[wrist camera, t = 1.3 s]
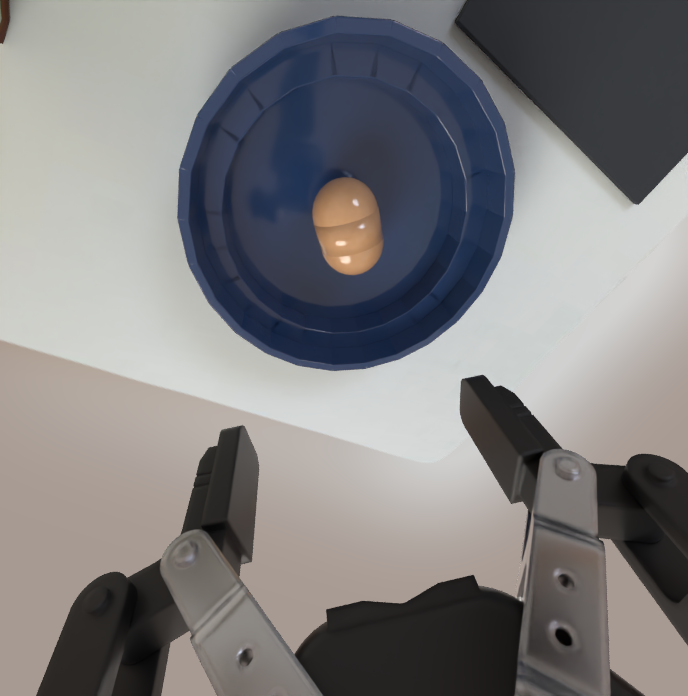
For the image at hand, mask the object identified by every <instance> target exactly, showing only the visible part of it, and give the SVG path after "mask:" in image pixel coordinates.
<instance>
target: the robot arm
mask: <svg viewBox="0 0 688 696" xmlns="http://www.w3.org/2000/svg"><path fill="white" fill-rule="evenodd" d="M460 415H461V419H462V422H463V424H464V426H465V428H466V430H467V431H468V433H469V435H470V436H471V438H472V439H473V441H474V443H475V445H476V446H477V448H478V450H479V451H480V453H481V455H482V456H483V458H484V459H485V461H486V463H487V465H488V466H489V468H490V469H491V471H492V473H493V474H494V476H495V478H496V479H497V481H498V483H499V484H500V486H501V488H502V489H503V491H504V493H505V494H506V496H507V498H508V499H509V501H510V503H511V504H512V503H517V502H522V501H523V502H524V504H525V505H526V507H527V509H528V512H527V518H526V525H525V533H524V540H523V547H522V555H521V562H520V569H519V574H518V580H517V586H516V591H515V597H513V596H511V595H509V594H507V593H505V592H502V591H499V590H496V589H493V588H489V587H484V586H478V584H477V582H476V579H475V577H474V575H471V576H467V577H463V578H459V579H454V580H450V581H446V582H441V583H438V584H436V585H434V586H432V587H431V588H429V589H427V590H426V591H424V592H422V593H421V594H419V595H418V596H416V597H414V598H412V599H411V600H409V601H407V602H405V603H401V604H399V603H385V602H384V603H383V602H371V601H360V602H356V603H352V604H348V605H343V606H339V607H335V608H331V609H327V610H326V613H327V622H325V623H324V624H322V625H321V626H319V627H318V628H317V629H316V630H314V631H313V632H312V633H311V634H310V635H309V636H308V637H307V638H306V639H305V640H304V642H303V643H302V644H301V645H300V647H299V648H298V650H297V651H296V653H295V654H293V652H292V651H291V649H290V648H289V647H288V645H287V644H286V642H285V641H284V640H283V638H282V637H281V635H280V634H279V633H278V631H277V630H276V628H275V627H274V625H273V624H272V623H271V621H270V620H269V619H268V617H267V616H266V614H265V613H264V611H263V610H262V609H261V607H260V606H259V604H258V603H257V601H256V600H255V599H254V597H253V596H252V594H251V593H250V592H249V590H248V589H247V587H246V586H245V585H244V584H243V582H242V581H241V579H240V578H239V576H240V566H241V564H245V563H249V562H252V553H253V540H254V528H255V515H256V502H257V489H258V476H259V464H258V463H259V462H258V457H257V454H256V451H255V449H254V446H253V444H252V442H251V440H250V437H249V435H248V433H247V431H246V429H245V427H244V426H237V427H232V428H228V429H223V430H221V432H220V437H219V441H218V446H214V447H210V448H208V450H207V451H206V453H205V454H204V456H203V457H202V459H201V460H200V462H199V466H198V470H197V474H196V475H197V477H196V478H195V482H194V488H193V490H192V494H191V498H190V501H189V506H188V509H187V513H186V517H185V521H184V525H183V529H182V532H181V535H180V536H179V537H177V538H176V539H175V540H174V541H172V543H171V544H170V545H169V546H168V547H167V549H166V550H165V552H164V554H163V556H162V558H161V559H160V560H158V561H157V562H155V563H154V564H152V565H150V566H148V567H146V568H144V569H143V570H141V571H139V572H137V573H135V574H133V575H132V576H130V577H128V578H127V577H126V576H125V575H124V574H122V573H120V572H110V573H107V574H104V575H102V576H100V577H98V578H97V579H95V580H94V581H92V582H91V583H90V584H89V585H88V586H87V587H86V588H85V589H84V590H83V591H82V592H81V593H80V594H79V596H78V597H77V599H76V600H75V602H74V603H73V605H72V607H71V609H70V612H69V614H68V617H67V620H66V622H65V625H64V627H63V630H62V632H61V635H60V637H59V640H58V642H57V645H56V647H55V650H54V652H53V655H52V657H51V660H50V662H49V665H48V667H47V670H46V673H45V675H44V677H43V680H42V682H41V685H40V687H39V690H38V692H37V695H36V696H161V693H162V687H163V682H164V676H165V670H166V664H167V659H168V653H169V648H170V642H172V641H173V640H175V639H177V638H178V637H180V636H182V635H183V634H185V633H186V632H188V631H190V632H191V635H192V636H191V638H190V640H191V643H192V646H193V648H194V650H195V652H196V654H197V656H198V658H199V660H200V662H201V664H202V666H203V668H204V670H205V672H206V674H207V676H208V678H209V680H210V682H211V684H212V686H213V688H214V690H215V692H216V694H217V696H645V695H643V694H642V693H641V692H639V691H638V690H637V689H636V688H634V687H633V686H632V685H630V684H629V683H628V682H626V681H625V680H624V679H623V678H621V677H620V676H619V675H617V674H616V673H615V672H613V671H612V670H611V669H610V665H609V664H610V662H609V636H608V610H607V585H606V558H605V547H604V543H603V541H601V540H599V538H605V539H611V540H612V541H613V543H614V544H615V546H616V547H617V548H618V550H619V551H620V553H621V554H622V555H623V557H624V558H625V559H626V561H627V562H628V564H629V565H630V566H631V568H632V569H633V570H634V572H635V573H636V575H637V576H638V577H639V579H640V580H641V582H642V583H643V584H644V586H645V587H646V588H647V590H648V591H649V592H650V594H651V595H652V597H653V598H654V599H655V601H656V602H657V604H658V605H659V606H660V608H661V609H662V611H663V612H664V613H665V615H666V616H667V617H668V619H669V620H670V622H671V623H672V624H673V626H674V627H675V628H676V630H677V631H678V633H679V634H680V635H681V637H682V638H683V640H684V641H685V642H686V644H687V645H688V473H687V472H686V471H685V470H684V469H683V468H682V467H680V466H679V465H677V464H676V463H674V462H672V461H670V460H668V459H666V458H663V457H660V456H657V455H652V454H638V455H635V456H633V457H631V458H630V459H629V461H628V462H627V464H626V466H619V465H603V464H593V463H590V462H588V461H587V460H586V459H585V458H584V457H582V456H581V455H579V454H577V453H574V452H572V451H569V450H564V449H562V448H561V447H560V446H559V444H558V443H557V442H556V441H555V440H554V439H553V437H552V436H551V435H550V434H549V433H548V432H547V430H546V429H545V428H544V427H543V426H542V425H541V423H540V422H539V421H538V420H537V419H536V418H535V417H534V415H532V414H531V412H530V411H529V410H528V408H527V407H526V406H524V404H523V403H522V402H521V400H520V399H519V398H518V397H517V396H516V395H515V393H513V392H511V391H509V390H508V389H506V388H504V387H503V386H497V387H494V386H493V385H492V384H491V383H490V381H489V380H488V379H487V378H486V377H485V376H484V375H479V376H475V377H470V378H465V379H462V381H461V392H460Z"/></svg>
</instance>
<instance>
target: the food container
mask: <svg viewBox="0 0 688 696" xmlns="http://www.w3.org/2000/svg"><path fill="white" fill-rule="evenodd" d="M8 24H9V0H0V43H2V44H3V42H4V38H5V35H6V31H7V28H8Z"/></svg>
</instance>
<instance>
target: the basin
mask: <svg viewBox="0 0 688 696" xmlns="http://www.w3.org/2000/svg"><path fill="white" fill-rule="evenodd" d="M338 177H352V178H356V179H358V180H360V181H362V182H364V183H365V184H366V185H367V186H368V187H369V188H370V189H371V190H372V192H373V193H374V195H375V197H376V199H377V203H378V207H379V213H380V219H381V225H382V230H383V236H384V246H383V252H382V255H381V257H380V259H379V260H378V262H377V263H376V264H375V265H374V266H373V267H372V268H371V269H370V270H369V271H367V272H365V273H363V274H360V275H344V274H341V273H339V272H337V271H335V270H334V269H332V268H331V267H330V266H329V265H328V264H327V262H326V260H325V259H324V257H323V255H322V252H321V249H320V245H319V242H318V238H317V235H316V231H315V228H314V224H313V219H312V206H313V201H314V199H315V196H316V194H317V193H318V191H319V190H320V189H321V188H322V187H323V186H324V185H325V184H326V183H327V182H329V181H331V180H332V179H335V178H338ZM514 179H515V169H514V165H513V160H512V155H511V150H510V146H509V141H508V136H507V132H506V127H505V123H504V121H503V119H502V117H501V115H500V114H499V112H498V110H497V108H496V106H495V104H494V102H493V100H492V99H491V97H490V95H489V93H488V91H487V89H486V87H485V85H484V84H483V82H482V80H480V78H479V77H478V76H477V75H476V74H475V73H474V72H473V71H472V70H471V69H470V68H469V67H468V66H467V65H466V64H465V63H464V62H463V61H462V60H461V59H460V58H459V57H457V56H456V55H455V54H454V53H453V52H452V51H451V50H450V49H449V48H448V47H447V46H446V45H445V44H444V43H442V42H441V41H439V40H437V39H434V38H432V37H430V36H428V35H426V34H423V33H421V32H419V31H417V30H414V29H412V28H410V27H408V26H406V25H403V24H401V23H399V22H397V21H395V20H391V19H378V18H363V17H347V16H332V17H329V18H326V19H322V20H319V21H316V22H312V23H309V24H306V25H302V26H299V27H296V28H292V29H289V30H286V31H282V32H280V33H279V34H276V35H275V36H273V37H272V38H270V39H269V40H268V41H266V42H265V43H264V44H262V45H261V46H260V47H258V48H257V49H255V50H254V51H253V52H251V53H250V54H249V55H247V56H246V57H245V58H243V59H242V60H241V61H239V62H238V63H236V64H235V65H234V66H232V67H231V69H229V71H228V72H227V73H226V75H225V76H224V78H223V79H222V80H221V82H220V83H219V85H218V86H217V87H216V89H215V90H214V92H213V93H212V95H211V96H210V97H209V99H208V100H207V102H206V103H205V104H204V106H203V107H202V109H201V110H200V111H199V113H198V114H197V117H196V119H195V122H194V125H193V128H192V131H191V134H190V137H189V140H188V143H187V146H186V149H185V152H184V155H183V158H182V161H181V165H180V169H179V190H178V216H177V218H178V223H179V228H180V232H181V236H182V241H183V245H184V249H185V253H186V258H187V262H188V265H189V267H190V269H191V271H192V273H193V275H194V277H195V279H196V281H197V282H198V284H199V286H200V288H201V290H202V292H203V294H204V296H205V297H206V299H207V301H208V303H209V304H210V305H211V306H212V308H213V309H214V310H215V311H216V312H217V313H218V314H219V315H220V316H221V318H222V319H223V320H224V321H225V322H226V323H227V324H228V325H229V326H230V327H231V329H232V330H233V331H234V332H235V333H236V334H238V335H239V336H241V337H242V338H244V339H245V340H247V341H248V342H250V343H251V344H253V345H254V346H256V347H257V348H259V349H260V350H261V351H263V352H264V353H266V354H269V355H271V356H274V357H277V358H279V359H282V360H284V361H287V362H290V363H292V364H295V365H298V366H303V367H310V368H316V369H323V370H330V371H339V370H354V369H366V368H370V367H374V366H377V365H381V364H384V363H388V362H391V361H395V360H398V359H401V358H403V357H405V356H407V355H409V354H411V353H413V352H415V351H417V350H418V349H420V348H422V347H424V346H426V345H428V344H429V343H431V342H432V341H434V340H435V339H436V338H437V337H439V336H440V335H441V334H442V333H444V332H445V331H446V330H447V329H449V328H450V327H451V326H452V325H454V324H455V323H456V322H457V321H459V319H460V318H461V317H462V316H463V315H464V313H465V312H466V311H467V310H468V309H469V307H470V306H471V305H472V304H473V303H474V301H475V300H476V299H477V298H478V297H479V296H480V294H481V293H482V292H483V290H484V288H485V286H486V284H487V283H488V281H489V279H490V277H491V275H492V273H493V271H494V270H495V268H496V266H497V264H498V262H499V260H500V258H501V256H502V252H503V249H504V245H505V242H506V238H507V235H508V231H509V228H510V224H511V221H512V217H513V201H514Z"/></svg>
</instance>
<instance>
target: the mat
mask: <svg viewBox="0 0 688 696" xmlns="http://www.w3.org/2000/svg"><path fill="white" fill-rule="evenodd" d="M455 23H456V24H457V25H458V26H459V27H460V28H461V29H462V30H463V31H464V32H465V33H466V34H467V35H468V36H469V37H470V38H471V39H472V40H473V41H474V42H475V43H476V44H477V45H478V46H479V47H480V48H481V49H482V50H483V51H484V52H485V53H486V54H487V55H488V56H489V57H490V58H491V59H492V60H493V61H494V62H495V63H496V64H497V65H498V66H499V67H500V69H501V70H502V71H503V72H504V73H505V74H506V75H507V76H508V77H509V78H510V79H511V80H512V81H513V82H514V83H515V84H516V85H517V86H518V87H519V88H520V89H521V90H522V91H523V92H524V93H525V94H526V95H527V96H528V97H529V98H530V99H531V100H532V101H533V102H534V103H535V104H536V105H537V106H538V107H539V108H540V109H541V110H542V111H543V112H544V113H545V114H546V115H547V116H548V117H549V118H550V119H551V120H552V121H553V122H554V123H555V124H556V125H557V126H558V127H559V128H560V129H561V130H562V131H563V132H564V133H565V134H566V135H567V136H568V137H569V138H570V139H571V140H572V141H573V142H574V143H575V145H576V146H577V147H578V148H579V149H580V150H581V151H582V152H583V153H584V154H585V155H586V156H587V157H588V158H589V159H590V160H591V161H592V162H593V163H594V164H595V165H596V166H597V167H598V168H599V169H600V170H601V171H602V172H603V173H604V174H605V175H606V176H607V177H608V178H609V179H610V180H611V181H612V182H613V183H614V184H615V185H616V186H617V187H618V188H619V189H620V190H621V191H622V192H623V193H624V194H625V195H626V196H627V197H628V198H629V199H630V200H631V201H632V202H633V203H634V204H638V205H639V204H640V203H641V202H642V201H643V199H644V198H645V197H646V196H647V195H648V194H649V193H650V192H651V191H652V190H653V189H654V188H655V187H656V186H657V185H658V184H659V183H660V182H661V180H662V179H663V178H664V177H665V176H666V175H667V174H668V173H669V172H670V171H671V170H672V169H673V168H674V167H675V166H676V165H677V164H678V163H679V161H680V160H681V159H682V158H683V157H684V156H685V155H686V154H687V153H688V0H467V2H466V3H465V5H464V7H463V9H462V10H461V12H460V14H459V16H458V17H457V19H456V21H455Z"/></svg>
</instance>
